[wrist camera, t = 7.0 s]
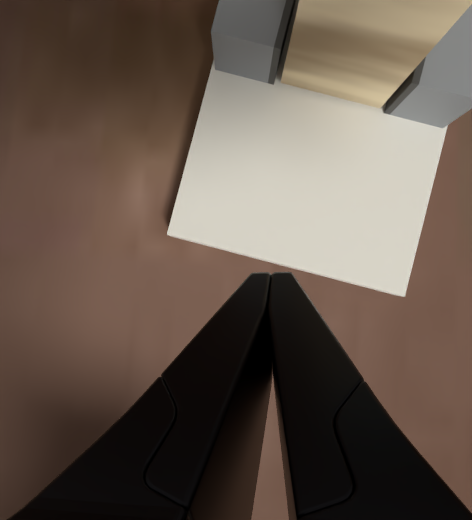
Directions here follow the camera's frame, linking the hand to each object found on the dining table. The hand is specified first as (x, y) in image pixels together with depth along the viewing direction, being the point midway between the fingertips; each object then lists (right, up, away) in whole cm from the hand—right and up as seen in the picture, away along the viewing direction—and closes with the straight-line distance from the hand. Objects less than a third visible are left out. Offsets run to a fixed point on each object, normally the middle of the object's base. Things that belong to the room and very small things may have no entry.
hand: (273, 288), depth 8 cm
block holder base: (+3, +7, +12) cm, 15 cm away
